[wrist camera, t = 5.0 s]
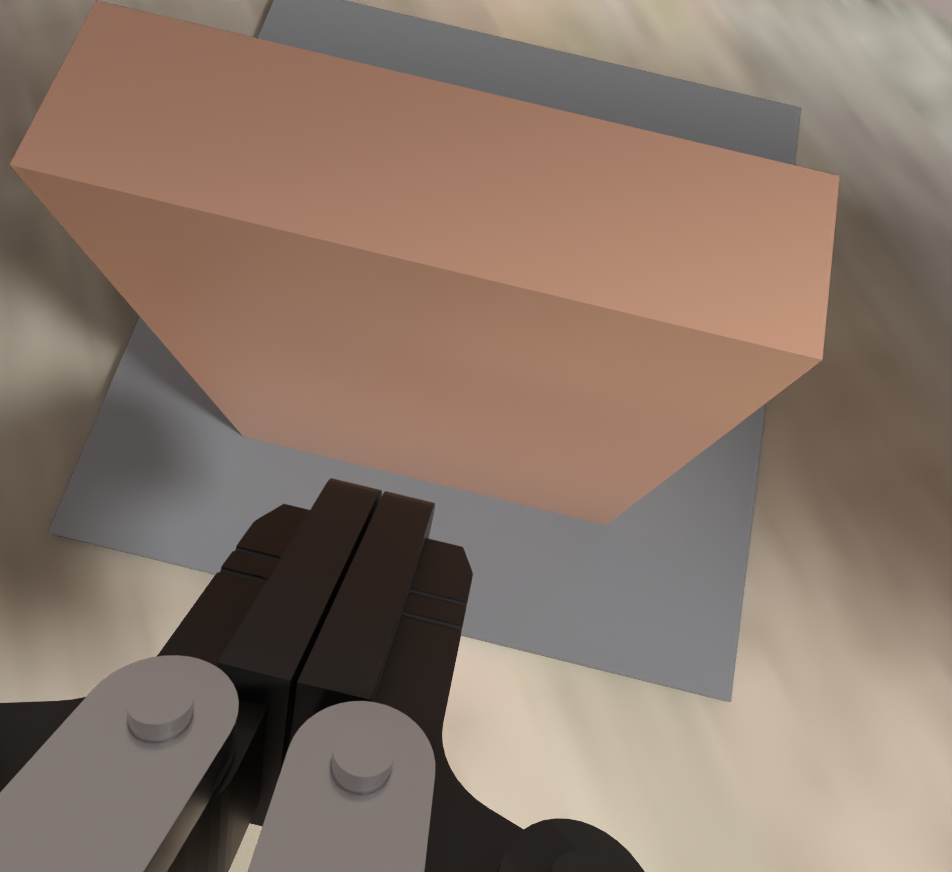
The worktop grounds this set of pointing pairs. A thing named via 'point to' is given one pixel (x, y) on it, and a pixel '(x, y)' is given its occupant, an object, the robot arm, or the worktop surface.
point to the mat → (456, 511)
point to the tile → (432, 261)
